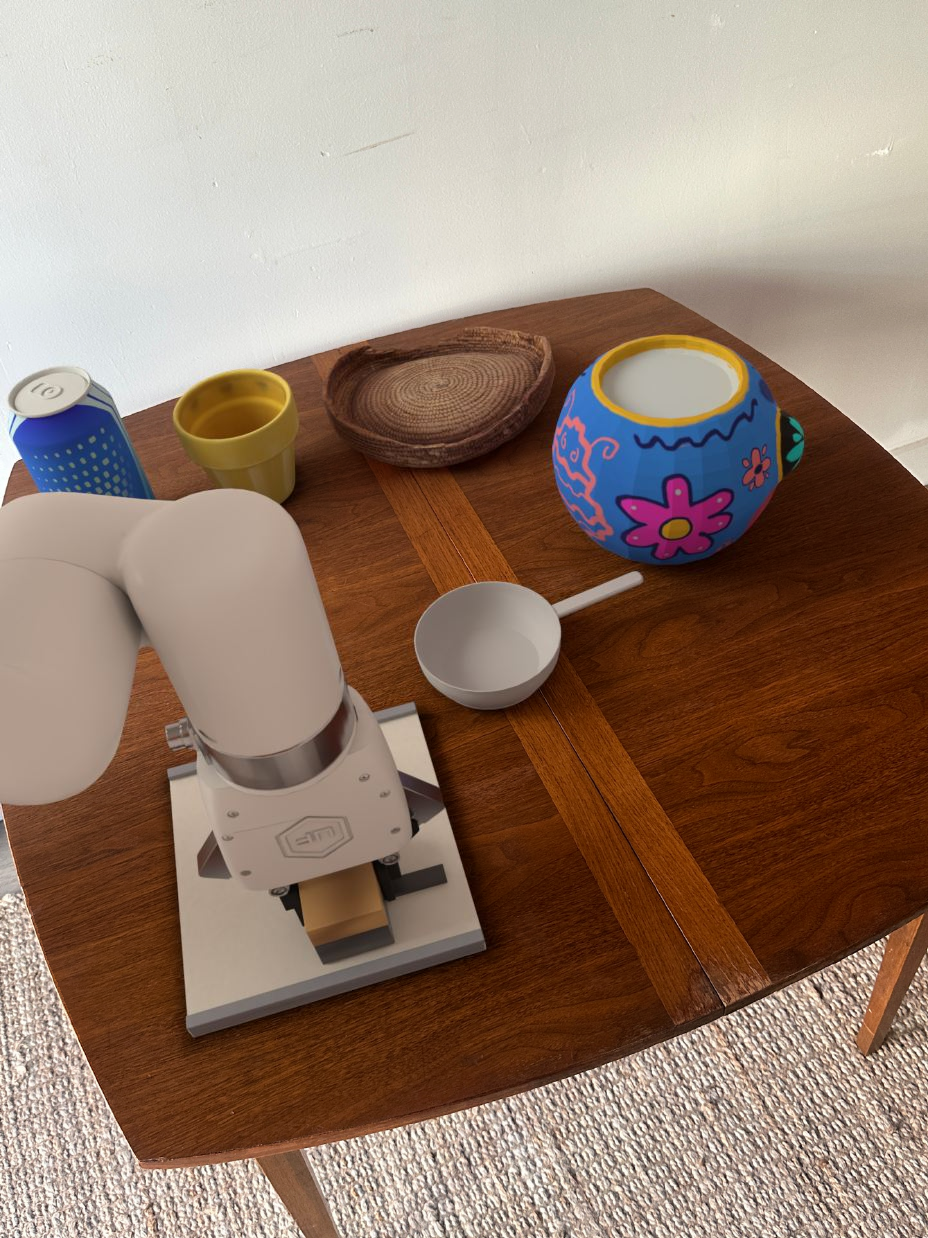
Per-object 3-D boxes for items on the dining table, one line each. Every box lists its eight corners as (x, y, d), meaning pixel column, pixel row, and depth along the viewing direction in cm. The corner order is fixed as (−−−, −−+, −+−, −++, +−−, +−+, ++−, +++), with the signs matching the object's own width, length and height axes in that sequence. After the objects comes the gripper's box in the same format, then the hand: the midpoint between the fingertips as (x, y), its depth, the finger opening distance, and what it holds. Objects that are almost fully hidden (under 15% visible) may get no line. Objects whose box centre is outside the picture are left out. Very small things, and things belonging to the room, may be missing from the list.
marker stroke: (385, 900, 64) (384, 897, 63) (382, 883, 64) (381, 880, 64) (447, 882, 64) (447, 879, 64) (443, 866, 65) (442, 863, 64)
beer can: (161, 497, 95) (98, 348, 83) (172, 554, 89) (106, 403, 77) (71, 523, 94) (-6, 375, 82) (77, 583, 88) (-5, 433, 76)
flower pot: (284, 536, 89) (256, 447, 82) (184, 517, 92) (148, 430, 85) (334, 463, 96) (311, 374, 88) (238, 447, 99) (209, 361, 92)
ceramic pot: (815, 560, 81) (848, 403, 70) (611, 632, 78) (611, 480, 67) (705, 439, 92) (719, 288, 81) (524, 497, 89) (512, 349, 78)
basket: (505, 328, 108) (502, 286, 104) (598, 427, 95) (597, 382, 91) (305, 396, 103) (294, 354, 100) (374, 509, 90) (364, 466, 87)
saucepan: (401, 640, 79) (393, 607, 77) (608, 565, 83) (608, 530, 80) (450, 742, 72) (444, 709, 70) (675, 655, 76) (677, 621, 73)
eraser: (322, 965, 61) (305, 932, 58) (303, 852, 66) (286, 815, 63) (395, 943, 61) (382, 909, 58) (370, 833, 67) (356, 795, 63)
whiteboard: (193, 1038, 60) (186, 1029, 59) (173, 779, 73) (167, 768, 72) (486, 949, 62) (484, 939, 61) (416, 712, 75) (414, 701, 74)
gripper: (106, 826, 47) (217, 988, 60) (460, 728, 48) (492, 907, 62) (104, 704, 52) (207, 878, 65) (424, 619, 54) (461, 806, 67)
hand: (345, 891), depth 63 cm, fingers closed on eraser, 4 cm apart
